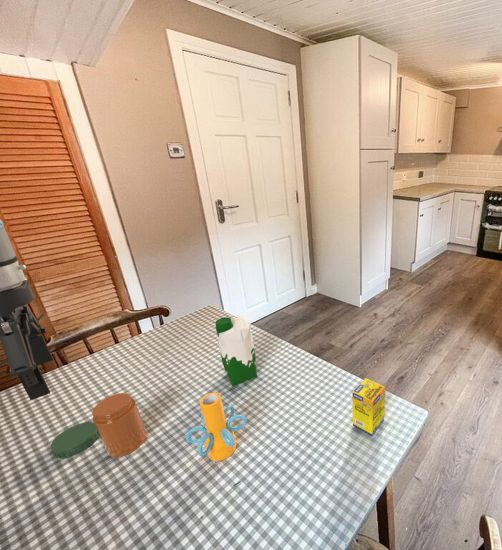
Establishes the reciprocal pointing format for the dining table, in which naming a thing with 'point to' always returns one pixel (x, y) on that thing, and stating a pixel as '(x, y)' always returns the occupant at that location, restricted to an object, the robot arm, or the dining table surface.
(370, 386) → the supplement box
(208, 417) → the orange vase
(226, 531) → the dining table surface
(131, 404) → the jar
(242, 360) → the milk carton
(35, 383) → the robot arm
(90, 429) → the jar lid
